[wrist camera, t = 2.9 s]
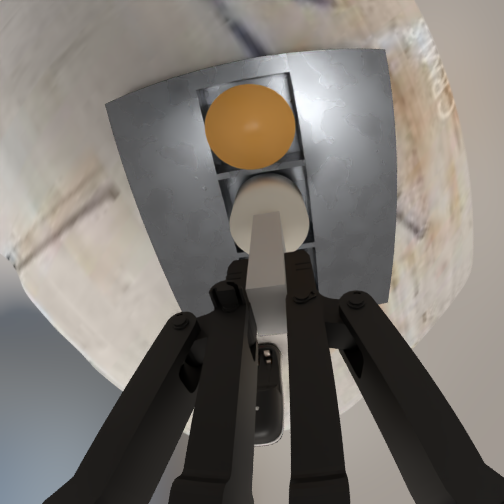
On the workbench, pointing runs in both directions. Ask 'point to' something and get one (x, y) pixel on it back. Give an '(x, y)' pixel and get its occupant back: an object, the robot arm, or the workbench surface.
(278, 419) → the battery charger
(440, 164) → the workbench surface
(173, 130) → the panel
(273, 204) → the ivory button
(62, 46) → the workbench surface
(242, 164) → the orange button
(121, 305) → the workbench surface
